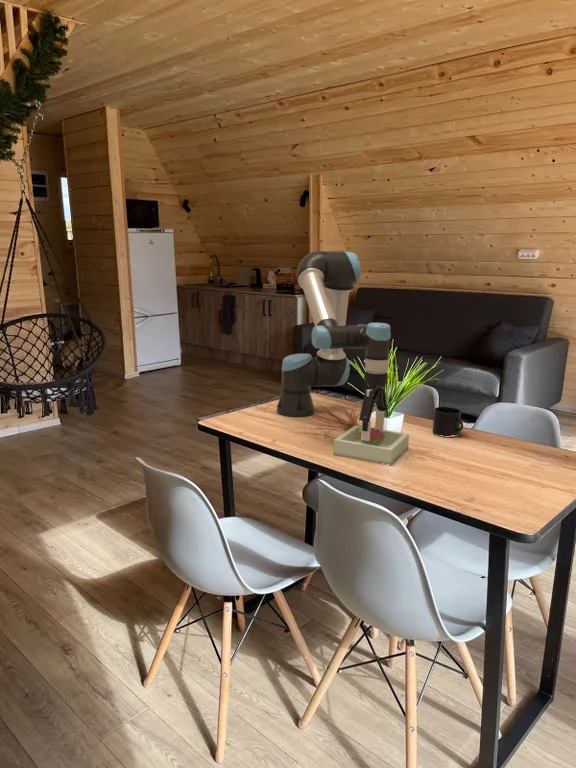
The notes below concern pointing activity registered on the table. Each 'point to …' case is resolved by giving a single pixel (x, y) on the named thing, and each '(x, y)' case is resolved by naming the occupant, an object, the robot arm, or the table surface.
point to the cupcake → (374, 436)
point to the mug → (447, 421)
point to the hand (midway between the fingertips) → (372, 434)
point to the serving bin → (371, 446)
